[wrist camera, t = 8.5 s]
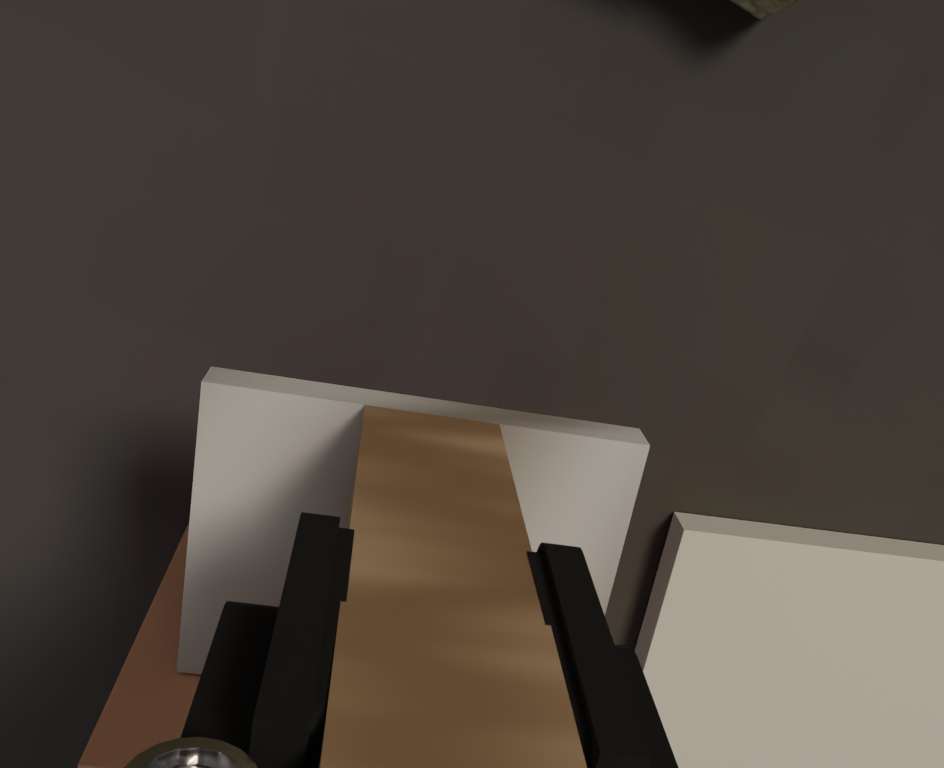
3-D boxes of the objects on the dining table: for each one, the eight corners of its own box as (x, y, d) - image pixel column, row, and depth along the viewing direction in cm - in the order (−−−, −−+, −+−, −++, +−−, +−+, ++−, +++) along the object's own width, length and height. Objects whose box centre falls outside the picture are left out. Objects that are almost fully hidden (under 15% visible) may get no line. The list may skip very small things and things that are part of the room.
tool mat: (1055, 559, 27) (1078, 577, 26) (899, 897, 32) (914, 923, 31) (673, 511, 25) (684, 529, 24) (571, 874, 30) (576, 900, 29)
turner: (639, 428, 17) (1075, 1116, 6) (571, 687, 19) (804, 1571, 8) (211, 366, 16) (-234, 1052, 5) (186, 646, 18) (-174, 1592, 7)
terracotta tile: (563, 528, 25) (653, 811, 16) (547, 597, 26) (624, 904, 17) (205, 485, 24) (78, 765, 15) (199, 558, 25) (75, 867, 16)
